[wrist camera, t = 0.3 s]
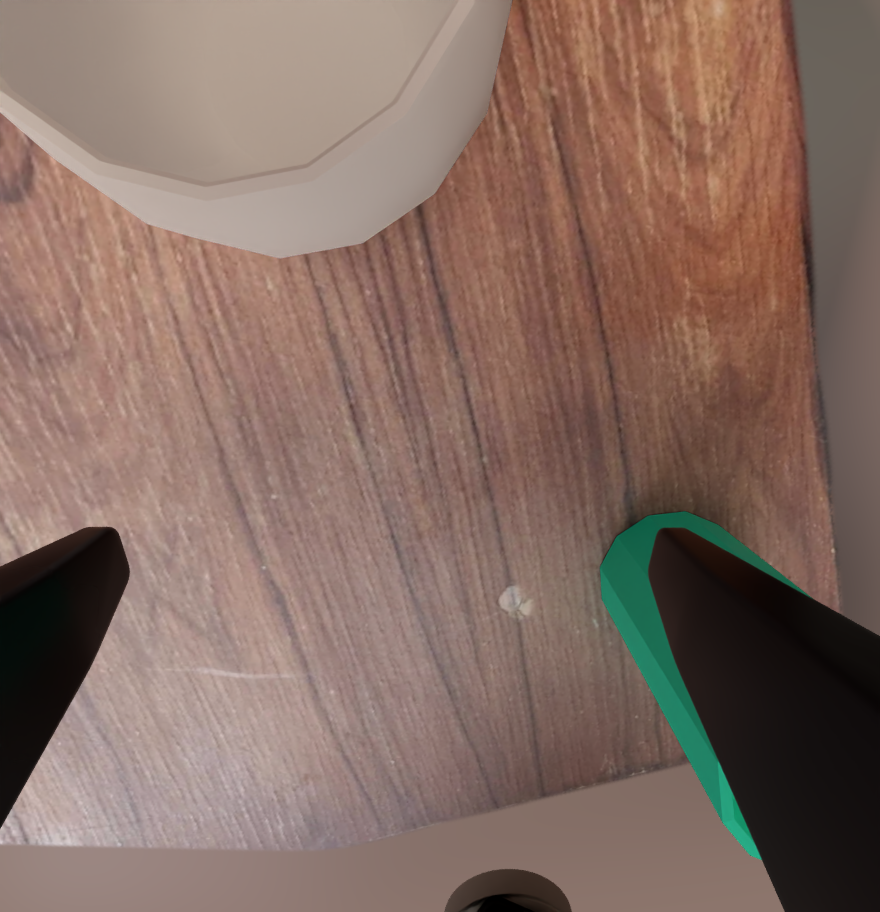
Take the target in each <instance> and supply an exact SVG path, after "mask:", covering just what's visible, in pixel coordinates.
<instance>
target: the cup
mask: <svg viewBox="0 0 880 912" xmlns="http://www.w3.org/2000/svg"><path fill="white" fill-rule="evenodd" d="M511 4H512V0H0V113H1V114H3V115H4V116H5V117H6V118H7V119H8V120H10V121H11V122H12V123H13V124H14V125H15V126H16V127H18V128H19V129H20V130H21V131H22V132H23V133H25V134H26V135H27V136H28V137H29V138H30V139H32V140H33V141H34V142H35V143H36V144H37V145H39V146H40V147H41V148H42V149H43V150H44V151H45V152H47V153H48V154H49V155H50V156H51V157H52V158H54V159H55V160H56V161H58V162H59V163H61V164H62V165H64V166H65V167H66V168H68V169H69V170H71V171H72V172H74V173H75V174H76V175H78V176H79V177H81V178H82V179H84V180H85V181H86V182H88V183H89V184H91V185H92V186H93V187H95V188H96V189H98V190H99V191H101V192H102V193H103V194H105V195H106V196H108V197H109V198H111V199H112V200H113V201H115V202H116V203H118V204H119V205H121V206H122V207H123V208H125V209H126V210H128V211H129V212H130V213H132V214H133V215H135V216H136V217H138V218H139V219H140V220H142V221H143V222H145V223H146V224H149V225H152V226H156V227H159V228H163V229H166V230H169V231H173V232H176V233H180V234H183V235H187V236H190V237H194V238H197V239H201V240H206V241H210V242H214V243H218V244H222V245H226V246H230V247H234V248H239V249H243V250H247V251H251V252H255V253H259V254H263V255H268V256H272V257H276V258H285V257H291V256H296V255H302V254H307V253H313V252H318V251H324V250H329V249H335V248H341V247H346V246H352V245H357V244H362V243H364V242H365V241H367V240H368V239H370V238H371V237H373V236H374V235H376V234H377V233H379V232H380V231H381V230H383V229H384V228H386V227H387V226H389V225H390V224H392V223H393V222H395V221H396V220H398V219H399V218H400V217H402V216H403V215H405V214H406V213H408V212H409V211H411V210H412V209H414V208H415V207H416V206H418V205H419V204H421V203H422V202H424V201H425V200H427V199H428V198H430V197H431V196H433V195H434V194H435V193H436V191H437V190H438V188H439V187H440V185H441V183H442V182H443V180H444V179H445V177H446V176H447V174H448V173H449V171H450V170H451V168H452V167H453V165H454V163H455V162H456V160H457V159H458V157H459V156H460V154H461V153H462V151H463V150H464V148H465V147H466V145H467V143H468V142H469V140H470V139H471V137H472V136H473V134H474V133H475V131H476V130H477V128H478V127H479V125H480V123H481V122H482V120H483V119H484V117H485V116H486V114H487V111H488V107H489V102H490V98H491V93H492V89H493V85H494V80H495V76H496V71H497V67H498V62H499V58H500V53H501V49H502V45H503V40H504V36H505V31H506V27H507V22H508V18H509V14H510V9H511Z"/></svg>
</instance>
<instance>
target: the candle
mask: <svg viewBox="0 0 880 912" xmlns="http://www.w3.org/2000/svg"><path fill="white" fill-rule="evenodd" d="M661 528H686V529H688V530H690V531H692V532H694V533H696V534H697V535H699V536H701V537H703V538H704V539H706V540H708V541H710V542H712V543H713V544H715V545H717V546H719V547H721V548H722V549H724V550H726V551H728V552H730V553H731V554H733V555H735V556H737V557H739V558H740V559H742V560H744V561H746V562H748V563H749V564H751V565H753V566H755V567H757V568H758V569H760V570H762V571H764V572H765V573H767V574H769V575H771V576H773V577H774V578H776V579H778V580H780V581H782V582H783V583H785V584H787V585H789V586H791V587H792V588H794V589H796V590H798V591H800V592H801V593H803V594H805V595H807V594H806V593H805V592H804V591H802V590H801V589H800V588H799V587H797V586H796V585H795V584H793V583H792V582H791V581H790V580H788V579H787V578H786V577H784V576H783V575H782V574H781V573H779V572H778V571H777V570H775V569H774V568H773V567H772V566H770V565H769V564H768V563H767V562H765V561H764V560H763V559H761V558H760V557H759V556H758V555H756V554H755V553H754V552H752V551H751V550H750V549H749V548H747V547H746V546H745V545H743V544H742V543H741V542H740V541H738V540H737V539H736V538H735V537H733V536H732V535H731V534H729V533H728V532H727V531H726V530H724V529H723V528H722V527H720V526H719V525H718V524H715V523H713V522H710V521H708V520H705V519H703V518H701V517H698V516H696V515H693V514H691V513H689V512H686V511H684V512H675V513H667V514H658V515H649V516H647V517H645V518H644V519H642V520H641V521H639V522H638V523H636V524H635V525H633V526H632V527H630V528H629V529H627V530H626V531H624V532H622V533H621V534H619V535H618V536H617V537H616V538H615V540H614V542H613V544H612V546H611V548H610V549H609V551H608V553H607V555H606V557H605V559H604V560H603V562H602V564H601V566H600V577H601V595H602V601H603V602H604V604H605V606H606V608H607V610H608V612H609V613H610V615H611V617H612V619H613V621H614V623H615V625H616V626H617V628H618V630H619V632H620V634H621V636H622V638H623V639H624V641H625V643H626V645H627V647H628V649H629V650H630V652H631V654H632V656H633V658H634V660H635V662H636V663H637V665H638V667H639V669H640V671H641V673H642V675H643V676H644V678H645V680H646V682H647V684H648V686H649V687H650V689H651V691H652V693H653V695H654V697H655V699H656V700H657V702H658V704H659V706H660V708H661V710H662V712H663V713H664V715H665V717H666V719H667V721H668V723H669V724H670V726H671V728H672V730H673V732H674V734H675V736H676V737H677V739H678V741H679V743H680V745H681V747H682V749H683V750H684V752H685V754H686V756H687V758H688V760H689V761H690V763H691V765H692V767H693V769H694V770H695V772H696V774H697V776H698V778H699V780H700V782H701V784H702V785H703V787H704V789H705V791H706V793H707V795H708V796H709V798H710V800H711V802H712V804H713V806H714V808H715V809H716V811H717V813H718V815H719V817H720V819H721V821H722V823H723V824H724V825H725V826H726V827H727V828H728V830H729V831H730V832H731V833H732V834H733V836H734V837H735V838H736V839H737V840H738V842H739V843H740V844H741V845H742V846H743V848H744V849H745V850H746V851H747V852H748V853H749V855H750V856H753V857H756V858H758V859H761V856H760V854H759V852H758V850H757V847H756V845H755V843H754V841H753V838H752V836H751V834H750V832H749V829H748V827H747V825H746V822H745V820H744V818H743V816H742V813H741V811H740V809H739V807H738V804H737V802H736V800H735V798H734V795H733V793H732V791H731V788H730V786H729V784H728V782H727V779H726V777H725V775H724V773H723V770H722V768H721V766H720V763H719V761H718V759H717V757H716V754H715V752H714V750H713V748H712V745H711V743H710V741H709V739H708V736H707V734H706V732H705V729H704V727H703V725H702V723H701V720H700V718H699V716H698V714H697V711H696V709H695V707H694V705H693V702H692V700H691V698H690V695H689V693H688V691H687V689H686V686H685V684H684V682H683V680H682V677H681V675H680V673H679V670H678V668H677V665H676V663H675V660H674V657H673V654H672V652H671V649H670V646H669V642H668V639H667V636H666V633H665V630H664V626H663V623H662V620H661V617H660V614H659V610H658V607H657V604H656V601H655V598H654V594H653V591H652V588H651V585H650V582H649V577H648V567H649V562H650V558H651V554H652V550H653V546H654V542H655V537H656V534H657V532H658V531H659V530H660V529H661ZM807 596H809V595H807ZM809 597H810V596H809ZM810 598H811V597H810ZM812 599H813V598H812ZM761 860H762V859H761Z"/></svg>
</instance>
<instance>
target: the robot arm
mask: <svg viewBox="0 0 880 912" xmlns="http://www.w3.org/2000/svg"><path fill="white" fill-rule="evenodd" d="M129 575H130V569H129V564H128V561H127V558H126V554H125V551H124V548H123V545H122V542H121V539H120V536H119V533H118V532H117V531H116V530H115V529H114V528H112V527H87V528H84V529H81V530H79V531H77V532H75V533H73V534H70V535H68V536H66V537H64V538H62V539H59V540H57V541H55V542H53V543H51V544H49V545H46V546H44V547H42V548H40V549H38V550H35V551H33V552H31V553H29V554H27V555H24V556H22V557H20V558H18V559H16V560H14V561H11V562H9V563H7V564H5V565H3V566H0V828H1V827H2V825H3V823H4V821H5V820H6V818H7V816H8V814H9V812H10V811H11V809H12V807H13V805H14V803H15V802H16V800H17V798H18V796H19V795H20V793H21V791H22V789H23V787H24V786H25V784H26V782H27V780H28V778H29V777H30V775H31V773H32V771H33V770H34V768H35V766H36V764H37V762H38V761H39V759H40V757H41V755H42V753H43V752H44V750H45V748H46V746H47V745H48V743H49V741H50V739H51V737H52V736H53V734H54V732H55V730H56V728H57V727H58V725H59V723H60V721H61V720H62V718H63V716H64V714H65V712H66V711H67V709H68V707H69V705H70V703H71V702H72V700H73V698H74V696H75V695H76V693H77V691H78V689H79V687H80V686H81V684H82V682H83V680H84V678H85V677H86V675H87V673H88V671H89V669H90V667H91V665H92V663H93V661H94V659H95V657H96V655H97V653H98V650H99V648H100V646H101V643H102V641H103V639H104V637H105V634H106V632H107V630H108V627H109V625H110V623H111V620H112V618H113V616H114V613H115V611H116V609H117V606H118V604H119V602H120V599H121V597H122V595H123V592H124V590H125V588H126V585H127V583H128V580H129ZM648 577H649V582H650V585H651V588H652V591H653V594H654V598H655V601H656V604H657V607H658V610H659V614H660V617H661V620H662V623H663V626H664V630H665V633H666V636H667V639H668V642H669V646H670V649H671V652H672V654H673V657H674V660H675V663H676V665H677V668H678V670H679V673H680V675H681V677H682V680H683V682H684V684H685V686H686V689H687V691H688V693H689V695H690V698H691V700H692V702H693V705H694V707H695V709H696V711H697V714H698V716H699V718H700V720H701V723H702V725H703V727H704V729H705V732H706V734H707V736H708V739H709V741H710V743H711V745H712V748H713V750H714V752H715V754H716V757H717V759H718V761H719V763H720V766H721V768H722V770H723V773H724V775H725V777H726V779H727V782H728V784H729V786H730V788H731V791H732V793H733V795H734V798H735V800H736V802H737V804H738V807H739V809H740V811H741V813H742V816H743V818H744V820H745V822H746V825H747V827H748V829H749V832H750V834H751V836H752V838H753V841H754V843H755V845H756V847H757V850H758V852H759V854H760V856H761V859H762V861H763V863H764V866H765V868H766V870H767V872H768V874H769V877H770V879H771V881H772V884H773V886H774V888H775V891H776V893H777V895H778V897H779V899H780V902H781V904H782V906H783V909H784V911H785V912H880V636H879V635H877V634H875V633H873V632H871V631H870V630H868V629H866V628H864V627H862V626H861V625H859V624H857V623H855V622H853V621H852V620H850V619H848V618H846V617H844V616H843V615H841V614H839V613H837V612H836V611H834V610H832V609H830V608H828V607H827V606H825V605H823V604H821V603H819V602H818V601H816V600H814V599H812V598H810V597H809V596H807V595H805V594H803V593H801V592H800V591H798V590H796V589H794V588H792V587H791V586H789V585H787V584H785V583H783V582H782V581H780V580H778V579H776V578H774V577H773V576H771V575H769V574H767V573H765V572H764V571H762V570H760V569H758V568H757V567H755V566H753V565H751V564H749V563H748V562H746V561H744V560H742V559H740V558H739V557H737V556H735V555H733V554H731V553H730V552H728V551H726V550H724V549H722V548H721V547H719V546H717V545H715V544H713V543H712V542H710V541H708V540H706V539H704V538H703V537H701V536H699V535H697V534H696V533H694V532H692V531H690V530H688V529H686V528H661V529H660V530H659V531H658V532H657V534H656V537H655V542H654V546H653V550H652V554H651V558H650V562H649V567H648ZM477 912H534V911H532V910H530V909H528V908H525V907H523V906H521V905H518V904H516V903H514V902H511V901H509V900H507V899H504V898H502V897H500V896H497V895H492V896H489V897H488V898H487V899H486V900H485V902H484V903H483V904H482V905H481V907H480V908H479V909H478V911H477Z"/></svg>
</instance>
